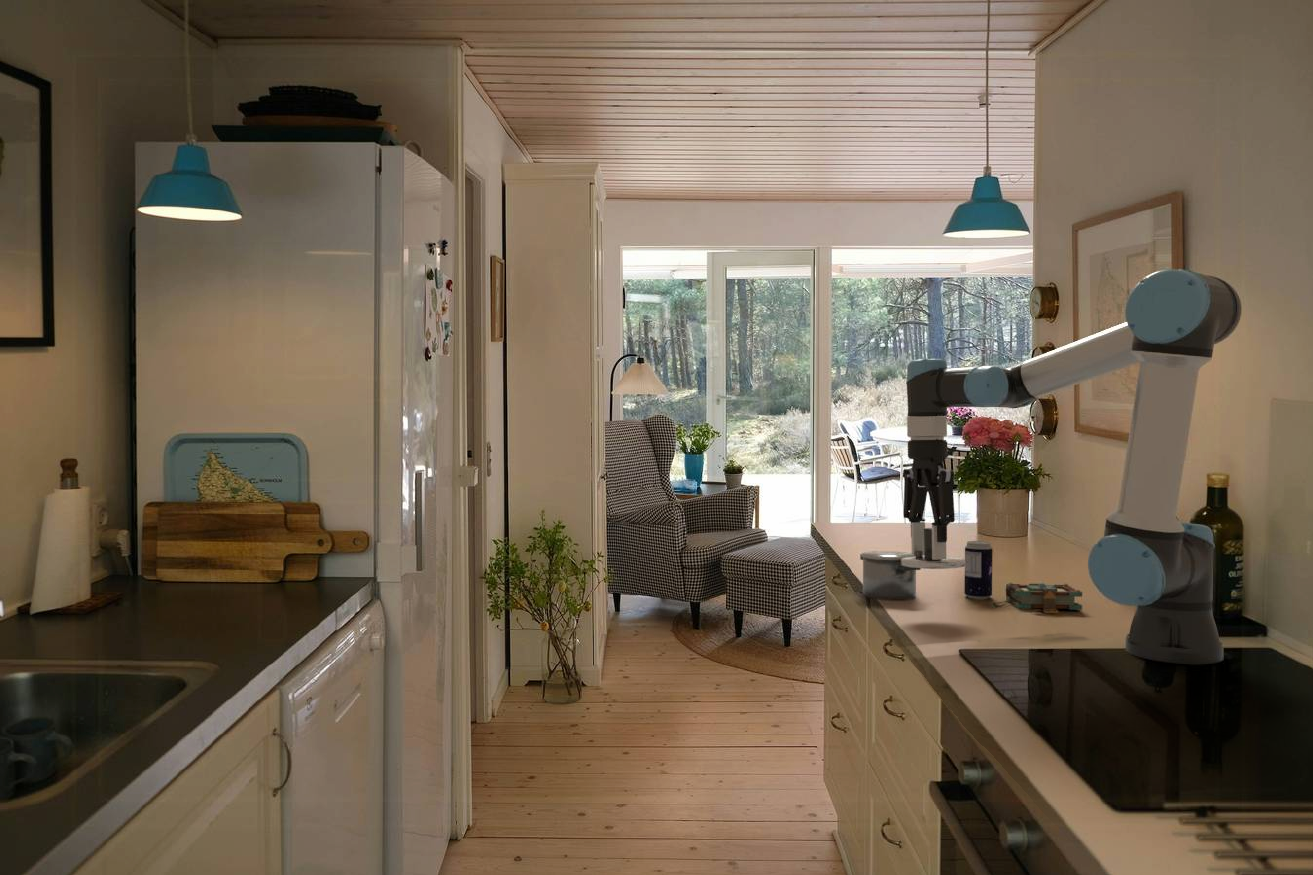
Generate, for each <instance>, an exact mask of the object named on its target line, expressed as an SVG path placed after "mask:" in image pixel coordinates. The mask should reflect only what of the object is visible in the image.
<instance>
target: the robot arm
mask: <svg viewBox="0 0 1313 875" xmlns="http://www.w3.org/2000/svg"><path fill="white" fill-rule="evenodd" d="M1124 316H1125V322H1124V323H1121V324H1118V325H1116V326H1112V327H1111V328H1108V329H1105V330H1103V331H1100V332H1097V333H1095V334H1092V335H1090V336H1087V337H1084V338H1082V339H1079V340H1077V341H1074V342H1071V343H1069V344H1067V345H1066V344H1065V345H1064V346H1061V347H1058V348H1056V349H1054V350H1051V351H1048V352H1046V353H1043V354H1041V355H1038V356H1035V357H1032V358H1030V359H1027V360H1025V361H1023V362H1020V363H1017V364H1015V365H1012V366H1009V367H1006V368H1001V367H999V366H996V365H983V364H982V365H977V366H969V367H968V366H967V367H966V366H965V367H958V368H957V367H956V368H948V364H947V361H946V360H944V359H942V358H925V359H923V358H922V359H914V360H911V361H909V362H908V365H907V371H906V373H907V375H906V382H905V383H906V391H907V392H906V396H907V397H906V398H907V418H906V419H907V420H906V421H907V423H906V424H907V425H906V427H907V428H906V430H907V433H906V434H907V435H906V436H907V437H908V438H910V440H909V439H908V441H907V457H908V459H909V460H912V465H911V468H904V469H903V471H902V473H903V475H902V476H903V479H904V483H903V484H904V486H903V487H904V488H903V518H904V519H908V522H909V523H910V538H911V541H910V542H911V553H912V556H916V555H915V551H917V550H921V551H923V556H924V528H926V522H925V521H926V518H925V517H924V512H925V508H926V501H927V496H929V502H930V506H931V510H932V517H933V522H932V523H931V528H932V559H933V560H939V559H946V557H947V542H948V525H949V524H951V523H954V522H955V520H956V518H955V502H954V501H955V500H954V483H953V482H954V478H955V472H954V470H953V469H952V470H947V469H945V465H944V462H943V461H944V460H946V459H947V458H948V452H949V451H948V450H949V448H948V441H947V439H944V437H945V438H946V437H947V436H948V408H949V409H951V408H1007V409H1019V408H1020V409H1021V408H1026V407H1029V406H1030V405H1032V404H1034V402H1035V401H1036V400H1037V399H1039V398H1042V397H1045V396H1047V395H1050V394H1053V393H1056V392H1059V391H1061V390H1064V389H1068V388H1071V387H1073V386H1076V385H1080V384H1082V383H1084V382H1088V381H1091V380H1094V379H1097V378H1099V377H1102V376H1105V375H1107V374H1111V373H1114V372H1116V371H1119V370H1122V369H1125V368H1128V367H1132V366H1134V365H1137V364H1139V368H1138V375H1137V381H1136V388H1135V393H1134V394H1135V395H1134V400H1133V406H1132V407H1133V408H1132V414H1131V418H1130V419H1131V421H1130V427H1129V433H1128V434H1129V435H1128V439H1127V440H1128V441H1127V447H1126V448H1127V449H1126V452H1125V461H1124V467H1123V472H1122V479H1121V486H1120V492H1119V498H1118V499H1119V500H1118V506H1117V508H1116V509H1115V510H1113V511H1112V512H1111V513H1109V514H1107V515H1106V519H1105V525H1104V530H1103V537H1102V538H1100V539H1099V540H1098V541H1097V542H1096V543H1095V544H1094V545H1093V547H1092V548H1091V549H1090V552H1089V554H1088V559H1087V568H1088V574H1089V576H1090V577H1089V578H1090V580H1091V582H1092V583H1093V585H1094V586H1095V587H1096V589H1097V590H1098V592H1099V593H1101V594H1102V595H1103V597H1105V598H1106V599H1108V600H1109V601H1111V602H1113V603H1115V604H1119V605H1123V606H1129V607H1130V606H1136V609H1135V612H1134V616H1133V618H1132V621H1131V625H1130V628H1129V631H1128V633H1127V634H1126V636H1125V651H1126V652H1127V653H1129V654H1130V655H1132V656H1135V657H1138V658H1142V659H1146V660H1150V661H1156V662H1161V663H1169V664H1177V665H1178V664H1181V665H1212V664H1217V663H1221V662H1222V661H1224V645H1223V642H1222V641H1221V640H1220V636H1219V633H1218V629H1217V628H1218V627H1217V625H1216V621H1215V619H1214V615H1213V596H1214V594H1213V592H1214V589H1213V588H1214V551H1215V549H1216V548H1215V547H1216V546H1215V543H1214V533H1213V530H1212V529H1211V527H1209V526H1207V525H1204V524H1199V523H1198V524H1197V523H1189V522H1187V523H1186V522H1180V521H1179V520H1178V518H1177V510H1178V503H1179V498H1180V492H1181V484H1182V481H1183V480H1182V478H1183V473H1184V466H1185V461H1186V460H1185V459H1186V454H1187V447H1188V439H1189V435H1190V434H1189V433H1190V429H1191V422H1192V417H1193V416H1192V415H1193V409H1194V403H1195V396H1196V390H1197V385H1198V384H1197V382H1198V377H1199V371H1200V369H1201V368H1202V367H1203V366H1205V365H1206V364H1208V363H1209V362H1211V361H1212V358H1213V353H1214V347H1215V345H1217V344H1220V343H1221V342H1223V341H1224V340H1225V339H1228V338H1229V337H1230V336H1231V334H1233V333H1234V331H1235V330H1236V328H1237V327H1238V325H1239V322H1240V320H1241V318H1242V317H1241V316H1242V301H1241V298H1240V296H1239V293H1238V292H1237V291H1236V289H1235V288H1234V287H1233V286H1232V285H1231V284H1230V283H1229V282H1227V281H1225V280H1223V279H1221V278H1219V277H1217V276H1213V275H1206V274H1202V273H1199V272H1195V271H1193V270H1189V269H1182V268H1179V269H1161V270H1159V271H1154V272H1153V273H1150V274H1149V275H1146V276H1145V277H1144V278H1142V279H1141V280H1140V281H1138V283H1137V284H1136V285H1135V286H1134V287H1133V288H1132V290H1131V292H1130V294H1129V295H1128V297H1127V300H1126V303H1125V308H1124Z"/></svg>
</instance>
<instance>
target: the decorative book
mask: <svg viewBox="0 0 1313 875" xmlns="http://www.w3.org/2000/svg"><path fill="white" fill-rule="evenodd" d="M1076 597H1079V598H1080V597H1081V598H1082V597H1083V591H1081V590H1080V589H1075V588H1072V585H1071V586H1070V585H1069V584H1068V583H1064V584H1054V585H1053V584H1050V585H1049V584H1045V583H1043V582H1040V583H1029V584H1020V583H1013V582H1008V583H1006V586H1005V598H1006V599H1005V601H999V602H993V603H989V606H991V607H992V608H998V607H999V605H998V604H1001V605H1000V607H1003V606H1004V605H1006V604H1010V603H1011V604H1013V605H1014V607H1016V608H1017V609H1019V610H1021V609H1023V610H1024V609H1029V610H1032V609H1041V610H1042V611H1043V612H1044V613H1046V614H1059V613H1060V611H1058V609H1063V610H1065V609H1067V610H1071V611H1072V610H1074V611H1076V610H1077V611H1079V610H1080V611H1082V610H1083V604H1081V603H1079V602H1075V599H1076Z"/></svg>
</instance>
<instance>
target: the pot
mask: <svg viewBox="0 0 1313 875" xmlns="http://www.w3.org/2000/svg"><path fill="white" fill-rule="evenodd" d="M859 556H860V557H859V558H860V561H861V560H862V595H863V596H865V597H867V598H870V599H875V600H880V601H889V602H890V601H891V602H892V601H893V602H895V601H896V602H899V601H910V600H913V599H916V597H917V571H921V570H922V568H911V567H905V566H902V565H901V559H903V558H908V557H916V556H912V552H906V551H905V552H904V551H890V550H875V551H872V550H871V551H865V552H861V553H860V555H859Z"/></svg>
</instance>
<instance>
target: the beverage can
mask: <svg viewBox="0 0 1313 875" xmlns="http://www.w3.org/2000/svg"><path fill="white" fill-rule="evenodd" d="M993 555H994V554H993V547H992V545H991V542H990V541H985V540H983V541H982V540H981V541H979V540H970V541H966V545H965V547H964V559H965V565H966V566H964V584H963V585H964V586H963V587H964V589H963V590H964V591H963V592H964V595H965V596H966V597H967V598H968V599H973V600H978V601H979V600H980V601H981V600H989V598H990V597H991V596H992V595H993Z"/></svg>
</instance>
